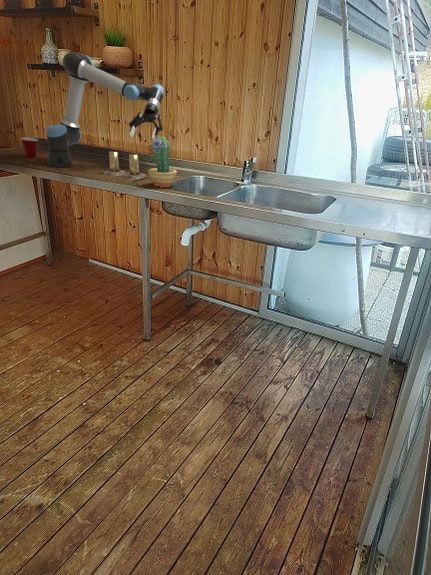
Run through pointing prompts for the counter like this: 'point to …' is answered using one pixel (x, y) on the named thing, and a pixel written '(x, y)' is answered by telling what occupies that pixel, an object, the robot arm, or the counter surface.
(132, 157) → the brass billet
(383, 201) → the counter surface
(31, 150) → the plastic cup
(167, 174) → the potted cactus
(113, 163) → the cylinder
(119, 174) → the pallet
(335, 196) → the counter surface
